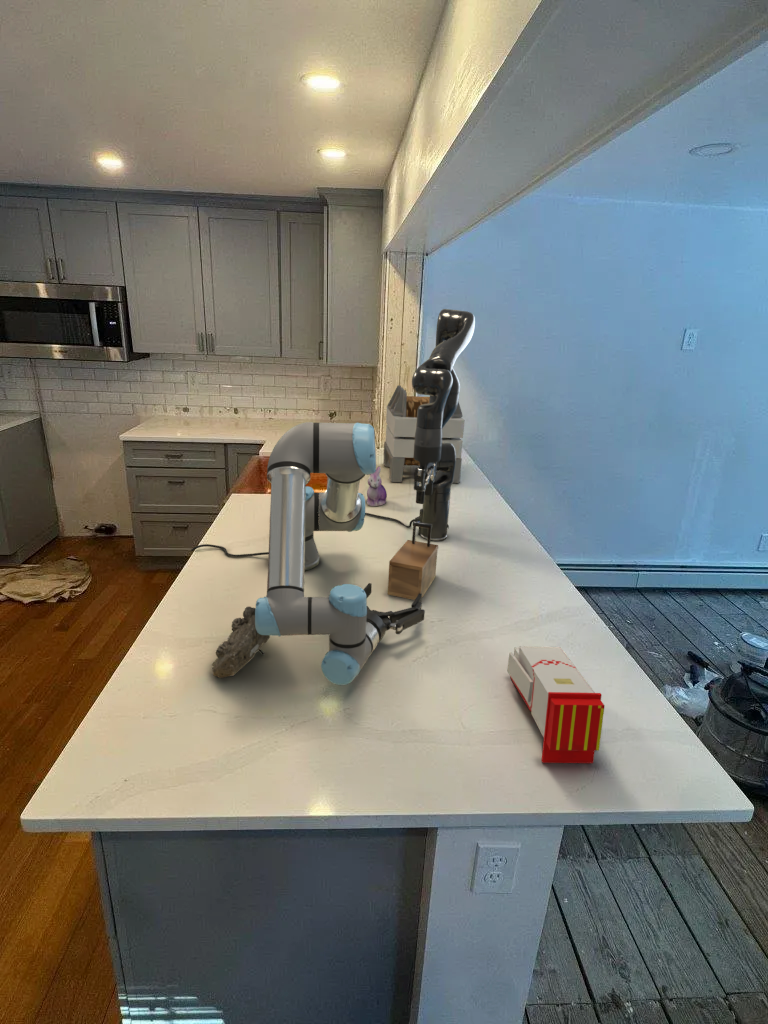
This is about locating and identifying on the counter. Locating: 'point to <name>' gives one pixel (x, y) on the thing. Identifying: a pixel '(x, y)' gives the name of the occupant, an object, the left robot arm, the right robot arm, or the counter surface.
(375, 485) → the figurine
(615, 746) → the counter surface
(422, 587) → the chest
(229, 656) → the fossil
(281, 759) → the counter surface
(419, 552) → the lid
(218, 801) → the counter surface
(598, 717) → the toy
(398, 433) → the transformer
